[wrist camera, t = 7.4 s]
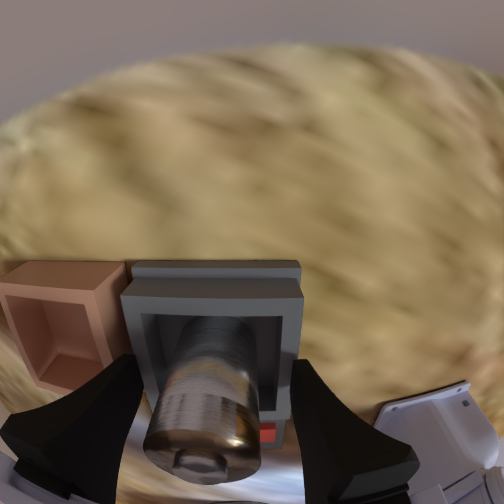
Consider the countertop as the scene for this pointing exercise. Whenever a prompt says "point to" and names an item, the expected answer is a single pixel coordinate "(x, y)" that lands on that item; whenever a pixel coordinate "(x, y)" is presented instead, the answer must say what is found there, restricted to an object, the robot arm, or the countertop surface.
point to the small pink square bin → (66, 319)
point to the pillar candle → (241, 502)
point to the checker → (220, 304)
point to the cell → (208, 405)
